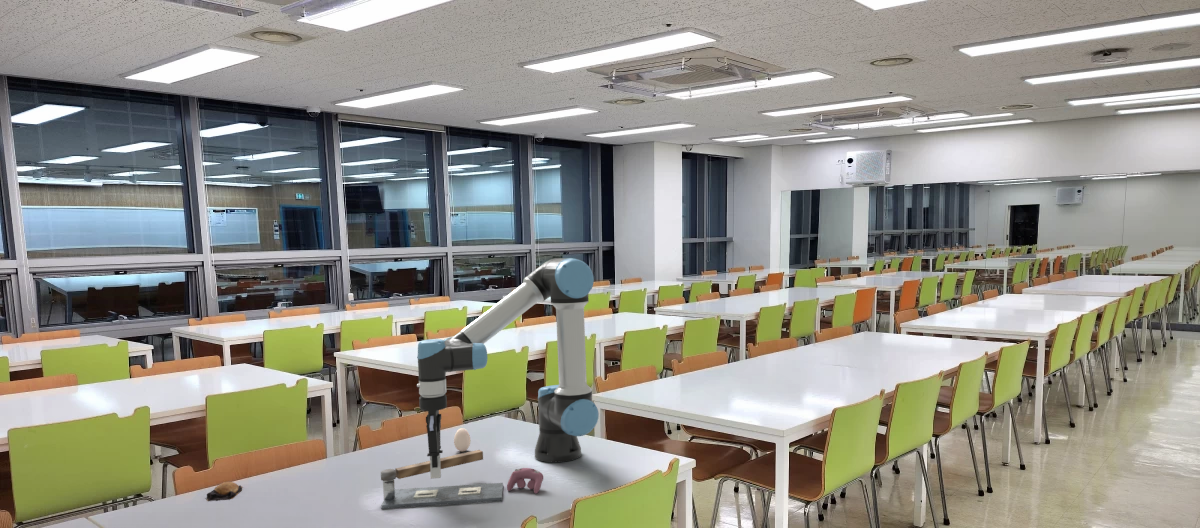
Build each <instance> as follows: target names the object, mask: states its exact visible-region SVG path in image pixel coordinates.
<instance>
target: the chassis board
mask: <svg viewBox="0 0 1200 528" xmlns="http://www.w3.org/2000/svg"><path fill="white" fill-rule="evenodd" d="M382 487H383V488H382V489H383V490H382V491H383V501H382V504H381V506H380V507H381V510H384V509H385V510H387V509H403V508H416V507H432V506H446V505H464V504H476V503H477V504H478V503H495V502H502V501H503V491H504V482H494V483H493V482H492V483H491V482H490V483H478V484H462V485H461V484H460V485H446V486H445V485H444V486H433V487H431V486H430V487H417V488H416V487H414V488H400V489H399V488H398V489H395V479H394V480H391V481H382Z"/></svg>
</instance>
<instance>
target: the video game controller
mask: <svg viewBox="0 0 1200 528" xmlns="http://www.w3.org/2000/svg"><path fill="white" fill-rule="evenodd" d="M526 479H527V480H529V481H528V482H527V484H526V481H525V480H526ZM543 481H544V475H543V473H542V472H540V471H538V470H537V469H534V468H531V467H521V468H515V469H514V471H513V472H512V473H511V474H510V477H509V479H508V482H507V483H506V490H507V492H510V491H512V490H513V488H514V487H515V486H516V484H517V487H518V488H519V489H522V490H523V489H525V487H527V489H529V490H530V491H531V490H533V493H534V494H538V493H539V492H540V490H541V487H542V484H543V483H542V482H543Z"/></svg>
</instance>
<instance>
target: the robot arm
mask: <svg viewBox="0 0 1200 528" xmlns="http://www.w3.org/2000/svg"><path fill="white" fill-rule="evenodd" d="M594 279H595V278H594V274H593V271H592V269H591V267H590V266H589V265H588V264H587V263H586V262H585V261H583V260H580V259H578V258H575V257H573V258H572V257H568V258H562V257H555V258H550V259H548V260H547V261H545V262H543V263H542V264H541V265H540V266H538V267H537V268H536V269H534V270H533V271H532V272H530V273H529V274H528V275H527V276H525V277H524V278H523V281H522V284H520V285H519V286H518V287H517V288H515V289H514V290H512V291H511V292H509V294H507V295H506V296H504V297H503V298H502V299H501V300H499V301H498V302H497V303H495V304H494V305H493V306H492V307H490V308H489V309H488V310H487V311H485V312H483V313H482V314H481V315H480V316H478V318H476V319H474V320H473V321H471V322H470V323H469V324H468V325H467V326H465V327H464V328H463V329H461V330H460V331H459V332H458V333H456V334H455V335H454V336H452V337H450V336H449V337H447V338H445V339H438V338H434V339H432V338H431V339H423V340H421V341H419V342H418V344H417V368H418V369H417V371H418V372H417V373H418V383H417V384H416V387H417V388H418V394H419V395H420V396H419V398H418V399H419V401H418V402H419V409H420V410H421V411H423V412H424V411H426V412H427V414H426V416H425V423H426V425H425V426H426V431H427V432H426V433H427V442H428V443H427V445H428V453H427V455H426V456H427V457H429V461H430V472H429V473H430V479H441V477H442V474H441V473H442V469H441V464H440V458H441V454H443V451H444V450H443V449H442V446H441V429H442V425H441V424H442V423H441V422H442V421H441V420H442V413H440V411H441V410H444V409H446V408H447V406H448V405H447V404H448V401H447V395H446V393H447V377H446V376H447V373H453V372H461V371H473V370H474V371H476V370H479V369H484V368H486V367H487V364H488V351H487V347H486V345H485V344H486V343H487V342H488V341H490V340H491V339H492V338H493V337H495V336H496V335H497V334H498V333H500V332H501V331H502V330H504V329H505V328H506V327H507V326H509V325H510V324H512V323H513V322H514V321H515V320H516V319H518V318H519V317H520V316H522V315H523V314H524V313H526V312H527V311H528V310H529V309H530V308H532V307H533V306H534V305H537V303H543V302H545V301H546V300H547V299H549V298H550V304H551V305H552V306H553V307H554V308H555V312H556V313H555V316H556V317H555V318H556V339H557V340H556V341H557V342H556V344H557V346H556V347H557V366H558V367H557V369H558V370H557V371H558V384H554V385H553V384H552V385H547V386H543V387H540V388H539V389H538V391H537V393H538V394H537V395H538V396H537V402H538V403H537V405H538V426H539V427H538V428H539V429H538V430H539V432H538V433H539V434H538V436H537V437H538V438H537V440H536V444H535V447H534V458H535V459H536V460H538V461H541V462H545V463H565V462H569V461H570V462H571V461H574V460H576V459H578V458H580V457H581V456H582V447H581V445H580V442H579V439H578V438H579V437H583V436H586V435H588V434H590V432H592V431H593V429H594V428H596V425H597V424H598V422H599V417H600V416H599V414H600V413H599V409H598V406H597V405H596V404H595V402H594V401H593V389H592V388H591V387H590V386H589V385H588V384H587V381H588V380H587V359H586V358H587V356H586V333H585V331H586V329H585V328H586V327H585V311H584V310H585V306H586V305H587V304H588V303H589V300H590V299H589V293H590V291H591V290H592V289H593V287H594V281H595V280H594Z"/></svg>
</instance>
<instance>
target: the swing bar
mask: <svg viewBox="0 0 1200 528" xmlns="http://www.w3.org/2000/svg"><path fill="white" fill-rule="evenodd" d="M482 460H484V452H483V451H482V450H480V449H476V450H472V451H471V450H470V451H468V452H463V453H458V454H454V455H449V456H446V457H440V464H441V470H444V469H447V468H452V467H456V466H462V465H465V464H470V463H473V462H478V461H482ZM426 473H430V460H428V461H426V460H425V461H422V462H419V463H418V462H417V463H414V464H410V465H405V466H399V467H395V469H394V468H388V469H383V470H381V471H380V480H381V481H382V482H383V481H391V480H394V481H395V480H396V479H398V480H401V479H404V478H405V479H406V478H409V477H413V476H419V475H422V474H426Z"/></svg>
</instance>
